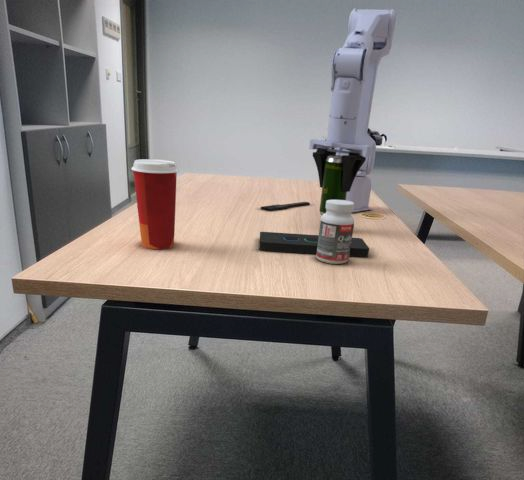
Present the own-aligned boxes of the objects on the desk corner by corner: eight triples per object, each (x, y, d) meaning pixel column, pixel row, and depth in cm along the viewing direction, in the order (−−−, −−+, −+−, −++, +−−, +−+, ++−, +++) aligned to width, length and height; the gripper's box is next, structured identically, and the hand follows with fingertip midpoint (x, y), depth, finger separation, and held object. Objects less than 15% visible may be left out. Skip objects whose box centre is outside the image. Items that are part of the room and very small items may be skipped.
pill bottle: (340, 266, 80) (349, 206, 75) (310, 259, 82) (317, 201, 78) (353, 259, 84) (362, 202, 79) (324, 253, 87) (331, 197, 82)
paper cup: (187, 243, 87) (186, 162, 80) (166, 253, 80) (163, 165, 74) (149, 237, 89) (146, 157, 82) (126, 246, 82) (120, 160, 76)
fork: (303, 203, 131) (303, 201, 131) (311, 205, 129) (311, 203, 129) (260, 209, 120) (260, 206, 120) (268, 211, 118) (269, 208, 118)
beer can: (348, 216, 103) (357, 157, 97) (331, 218, 100) (339, 158, 94) (330, 211, 107) (337, 154, 101) (313, 213, 103) (320, 154, 98)
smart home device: (259, 230, 92) (361, 237, 92) (259, 239, 93) (360, 245, 93) (259, 241, 84) (370, 248, 85) (259, 250, 85) (368, 257, 86)
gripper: (303, 115, 96) (296, 185, 102) (362, 120, 87) (351, 196, 94) (324, 116, 101) (316, 183, 107) (382, 121, 92) (371, 193, 98)
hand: (334, 189), depth 101 cm, fingers closed on beer can, 5 cm apart
